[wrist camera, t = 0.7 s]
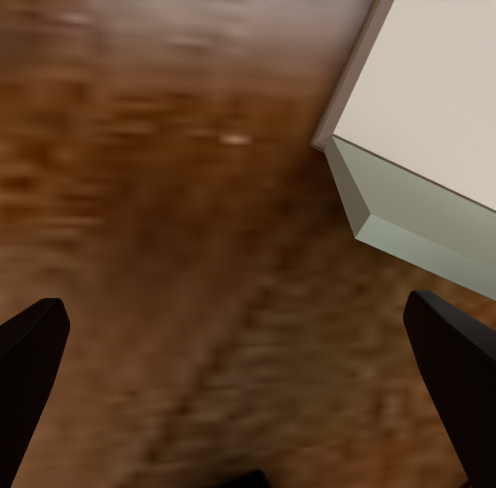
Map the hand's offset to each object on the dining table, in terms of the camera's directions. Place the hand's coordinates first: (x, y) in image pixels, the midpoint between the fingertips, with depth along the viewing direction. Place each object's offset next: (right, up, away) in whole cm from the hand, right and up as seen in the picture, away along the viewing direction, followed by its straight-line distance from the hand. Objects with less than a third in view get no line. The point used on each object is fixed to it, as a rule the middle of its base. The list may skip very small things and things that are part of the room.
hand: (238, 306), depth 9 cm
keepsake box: (+13, +10, +14) cm, 21 cm away
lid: (+10, +2, +5) cm, 12 cm away
